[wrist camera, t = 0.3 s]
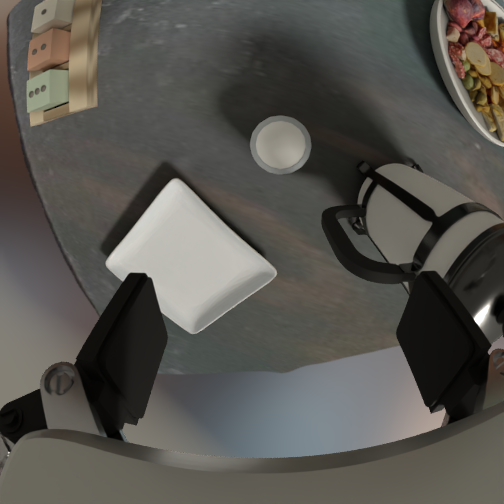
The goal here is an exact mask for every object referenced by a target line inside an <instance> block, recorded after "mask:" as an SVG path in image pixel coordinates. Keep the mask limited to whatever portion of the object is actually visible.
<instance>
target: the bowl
mask: <svg viewBox="0 0 504 504" xmlns="http://www.w3.org/2000/svg"><path fill="white" fill-rule="evenodd" d="M430 36H431V43H432V48H433V52H434V56H435V60H436V63H437V66H438V69H439V71H440V74H441V76H442V79H443V81H444V83H445V86H446V88H447V90H448V92H449V94H450V95H451V97H452V99H453V101H454V102H455V104H456V106H457V107H458V109H459V110H460V112H461V113H462V114H463V116H464V117H465V118H466V120H467V121H468V122H469V123H470V124H471V125H472V127H473V128H474V129H475V130H476V131H478V132H479V133H480V134H481V135H482V136H483V137H485V138H486V139H488V140H489V141H491V142H493V143H495V144H497V145H500V146H503V147H504V9H503V8H502V7H501V6H500V5H499V4H498V3H497V2H496V1H495V0H435V2H434V4H433V6H432V10H431V14H430Z"/></svg>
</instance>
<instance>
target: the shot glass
mask: <svg viewBox="0 0 504 504" xmlns="http://www.w3.org/2000/svg"><path fill="white" fill-rule="evenodd" d="M250 147H251V153H252V156H253V158H254V159H255V161H256V162H257V164H258V165H259V166H260V167H262V168H263V169H265V170H266V171H268V172H271V173H275V174H279V175H280V174H287V173H292V172H294V171H296V170H297V169H299V168H301V167H302V166H303V165H304V163H305V162H306V161H307V160H308V158H309V155H310V151H311V139H310V135H309V133H308V132H307V130H306V128H305V127H304V125H303V124H301V123H300V122H298V121H297V120H296V119H294V118H291V117H287V116H283V115H281V116H273V117H269V118H267V119H266V120H264V121H262V122H261V123H259V124H258V126H257V127H256V129H255V130H254V131H253V133H252V137H251V141H250Z"/></svg>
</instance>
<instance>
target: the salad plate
mask: <svg viewBox="0 0 504 504" xmlns="http://www.w3.org/2000/svg"><path fill="white" fill-rule="evenodd" d="M106 266H107V268H108V269H109V270H110V271H111V272H113V273H114V274H115V275H116V276H117V277H118V278H119V279H120V280H122V281H124V280H125V278H126V277H127V275H128V274H129V273H131V272H132V273H146V274H147V276H148V277H151V278H152V280H153V284H154V288H155V292H156V296H157V299H158V303H159V307H160V310H161V312H162V313H163V314H164V315H166V316H167V317H168V318H170V319H171V320H172V321H174V322H175V323H176V324H178V325H179V326H180V327H182V328H183V329H185V330H186V331H188V332H189V333H192V334H196V333H198V332H200V331H201V330H203V329H204V328H206V327H207V326H208V325H210V324H211V323H212V322H214V321H215V320H217V319H218V318H219V317H221V316H222V315H223V314H225V313H226V312H228V311H229V310H230V309H232V308H233V307H235V306H236V305H237V304H239V303H240V302H242V301H243V300H245V299H246V298H247V297H249V296H250V295H252V294H253V293H255V292H256V291H258V290H259V289H260V288H262V287H263V286H265V285H266V284H267V283H269V282H270V281H271V280H272V279H273V278H274V277H275V276H276V275H277V271H276V269H275V268H274V266H273V265H271V264H270V263H269V262H268V261H267V260H266V259H265V258H264V257H262V256H261V255H260V254H259V253H258V252H257V251H255V250H254V249H253V248H252V247H250V246H249V245H248V244H247V243H246V242H245V241H244V240H242V239H241V238H240V237H239V236H238V235H237V234H236V233H235V232H233V231H232V230H231V229H230V228H229V227H228V226H227V225H226V224H225V223H224V222H223V221H222V220H221V219H220V218H219V217H218V216H217V215H216V214H215V213H214V212H213V211H212V210H211V209H210V208H209V207H208V206H207V205H206V204H205V203H204V202H203V201H202V200H201V199H200V198H199V197H198V196H197V195H196V194H195V193H194V192H193V191H192V190H191V189H190V188H189V187H188V186H187V185H186V184H185V183H184V182H183V181H181V180H180V179H178V178H173V179H172V180H170V181H169V182H168V183H167V185H166V186H165V187H164V188H163V189H162V190H161V192H160V193H159V194H158V195H157V197H156V198H155V199H154V200H153V202H152V203H151V204H150V206H149V207H148V208H147V209H146V211H145V212H144V213H143V215H142V216H141V217H140V218H139V220H138V221H137V222H136V224H135V225H134V226H133V227H132V229H131V230H130V231H129V232H128V234H127V235H126V236H125V237H124V239H123V240H122V241H121V242H120V243H119V244H118V246H117V247H116V248H115V249H114V250H113V251H112V253H111V254H110V256H109V257H108V258H107V260H106Z"/></svg>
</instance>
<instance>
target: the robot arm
mask: <svg viewBox="0 0 504 504" xmlns="http://www.w3.org/2000/svg"><path fill="white" fill-rule="evenodd" d="M396 335H397V339H398V341H399V343H400V346H401V348H402V350H403V352H404V354H405V357H406V359H407V361H408V364H409V366H410V368H411V371H412V373H413V376H414V378H415V381H416V383H417V386H418V388H419V390H420V393H421V396H422V398H423V400H424V404H425V405H426V406H427V407H429V409H430V412H431V413H434V412H437V411H440V410H442V409H443V408H444V407H445V409H446V414H445V417H444V420H443V423H442V426H441V427H440V428H437V429H435V430H432V431H429V432H426V433H423V434H420V435H416V436H413V437H410V438H406V439H402V440H399V441H395V442H391V443H387V444H383V445H378V446H374V447H369V448H364V449H358V450H352V451H347V452H340V453H333V454H325V455H316V456H304V457H288V458H233V457H217V456H207V455H197V454H189V453H182V452H175V451H169V450H163V449H157V448H151V447H147V446H142V445H137V444H133V443H129V442H128V441H127V439H126V437H125V435H124V433H123V431H122V429H123V426H124V423H128V424H133V425H137V423H138V419H139V418H143V416H144V414H145V410H146V407H147V403H148V400H149V397H150V394H151V390H152V387H153V384H154V380H155V377H156V374H157V371H158V368H159V365H160V362H161V359H162V356H163V353H164V350H165V347H166V344H167V339H168V336H167V331H166V328H165V324H164V321H163V317H162V314H161V310H160V307H159V303H158V299H157V296H156V292H155V288H154V284H153V280H152V278H151V277H148V276H147V274H146V273H132V272H131V273H129V274H128V275H127V277H126V278H125V280H124V281H123V283H122V284H121V286H120V287H119V289H118V290H117V292H116V293H115V295H114V296H113V298H112V299H111V301H110V302H109V304H108V306H107V307H106V309H105V310H104V312H103V313H102V315H101V317H100V318H99V320H98V322H97V323H96V325H95V327H94V328H93V330H92V332H91V333H90V335H89V337H88V338H87V340H86V342H85V343H84V345H83V347H82V349H81V350H80V352H79V354H78V356H77V358H76V359H77V361H76V362H75V364H74V365H73V364H71V363H69V362H59V363H55V364H53V365H51V366H50V367H49V368H48V369H47V370H46V371H45V372H44V374H43V375H42V378H41V381H40V389H38V390H35V391H33V392H31V393H29V394H27V395H25V396H22V397H20V398H18V399H16V400H14V401H11V402H9V403H7V404H6V405H4V406H3V408H2V409H1V410H0V504H504V349H495V350H493V351H492V352H491V354H490V355H489V354H488V350H489V349H490V347H491V343H490V342H489V340H488V339H487V337H486V336H485V334H484V333H483V331H482V330H481V328H480V327H479V326H478V324H477V323H476V321H475V320H474V318H473V317H472V316H471V314H470V313H469V312H468V310H467V309H466V308H465V306H464V305H463V304H462V302H461V301H460V300H459V298H458V297H457V296H456V295H455V293H454V292H453V291H452V289H451V288H450V287H449V286H448V284H447V283H446V282H445V281H444V280H443V278H442V277H441V276H440V275H439V274H438V272H436V271H422V272H421V273H420V274H419V275H418V276H417V277H416V279H415V282H414V285H413V288H412V291H411V294H410V296H409V299H408V302H407V305H406V307H405V310H404V313H403V315H402V318H401V320H400V323H399V325H398V328H397V331H396Z"/></svg>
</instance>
